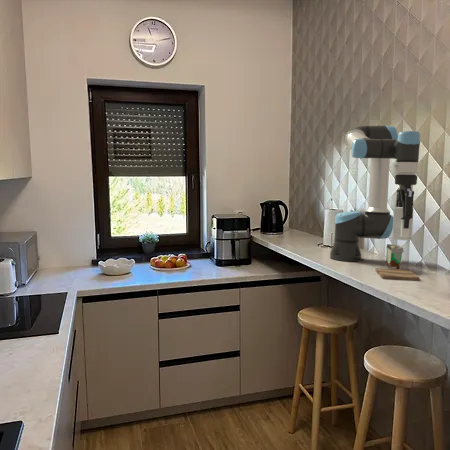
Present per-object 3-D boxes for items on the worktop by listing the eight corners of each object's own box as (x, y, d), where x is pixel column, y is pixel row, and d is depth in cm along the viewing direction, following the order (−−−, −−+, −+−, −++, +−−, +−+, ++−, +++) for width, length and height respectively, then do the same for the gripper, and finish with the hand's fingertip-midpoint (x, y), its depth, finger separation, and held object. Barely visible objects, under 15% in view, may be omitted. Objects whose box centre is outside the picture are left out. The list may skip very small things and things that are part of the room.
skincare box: (412, 239, 157) (414, 207, 156) (407, 241, 154) (410, 208, 152) (395, 238, 161) (398, 206, 160) (391, 239, 158) (393, 207, 156)
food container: (405, 272, 181) (406, 249, 180) (390, 271, 182) (391, 248, 181) (399, 265, 193) (400, 244, 192) (385, 265, 194) (386, 243, 193)
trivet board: (375, 270, 182) (375, 268, 182) (408, 272, 180) (409, 269, 180) (382, 278, 168) (382, 275, 168) (419, 280, 166) (419, 277, 166)
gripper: (389, 173, 165) (385, 231, 168) (403, 173, 145) (398, 239, 148) (409, 174, 164) (404, 232, 167) (425, 174, 144) (420, 240, 147)
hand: (401, 235), depth 157 cm, fingers closed on skincare box, 7 cm apart
